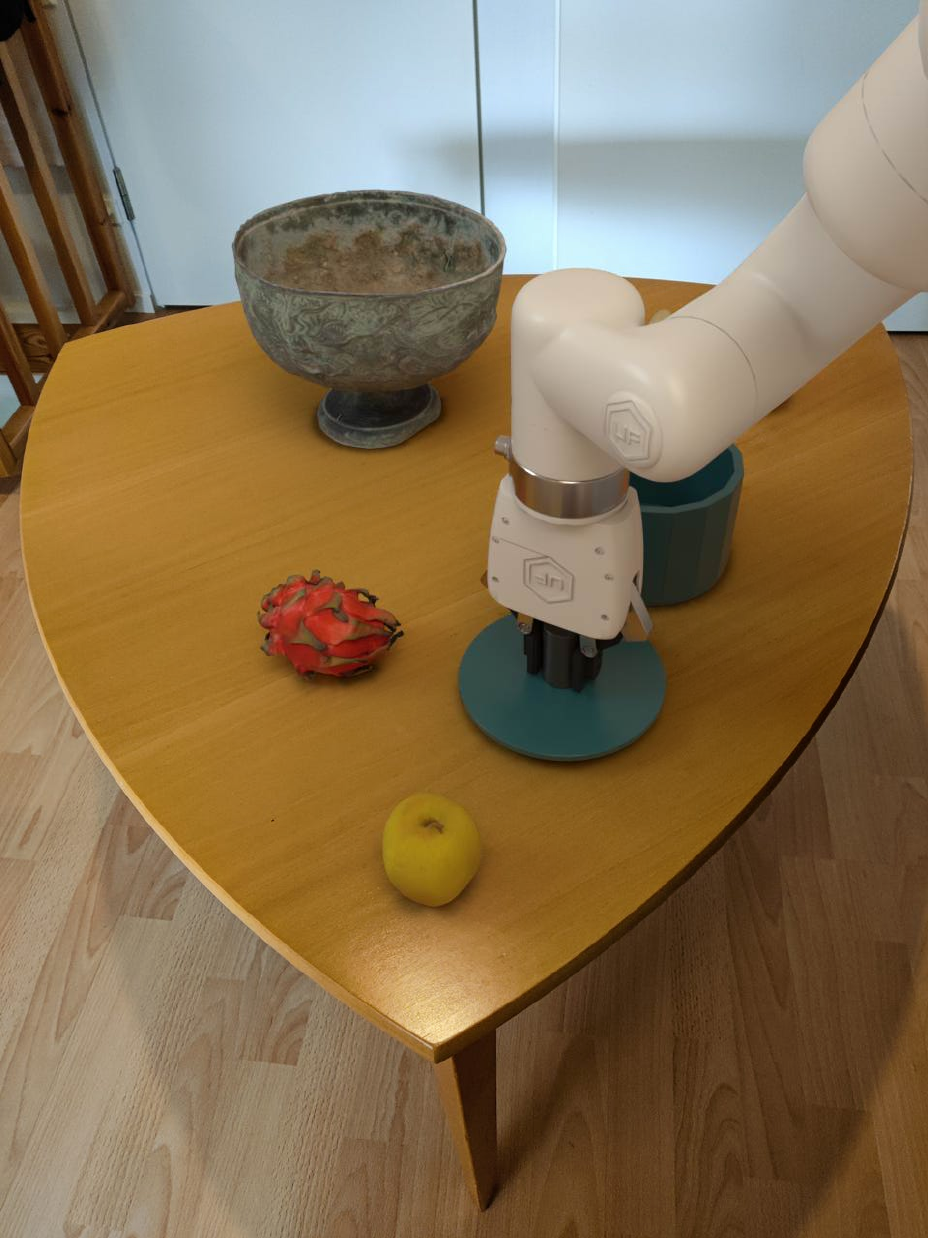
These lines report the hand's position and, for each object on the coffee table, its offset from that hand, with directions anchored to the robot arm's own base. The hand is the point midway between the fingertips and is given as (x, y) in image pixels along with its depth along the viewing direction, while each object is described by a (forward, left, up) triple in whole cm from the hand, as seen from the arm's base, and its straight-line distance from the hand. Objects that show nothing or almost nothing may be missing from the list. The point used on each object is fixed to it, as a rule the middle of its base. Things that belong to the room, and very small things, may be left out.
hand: (561, 669), depth 76 cm
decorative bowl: (+35, -28, -3) cm, 45 cm away
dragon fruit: (+18, +5, -3) cm, 19 cm away
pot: (+1, -19, -3) cm, 19 cm away
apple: (0, +19, -3) cm, 19 cm away
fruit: (+17, -52, -3) cm, 55 cm away
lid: (0, 0, -1) cm, 1 cm away
